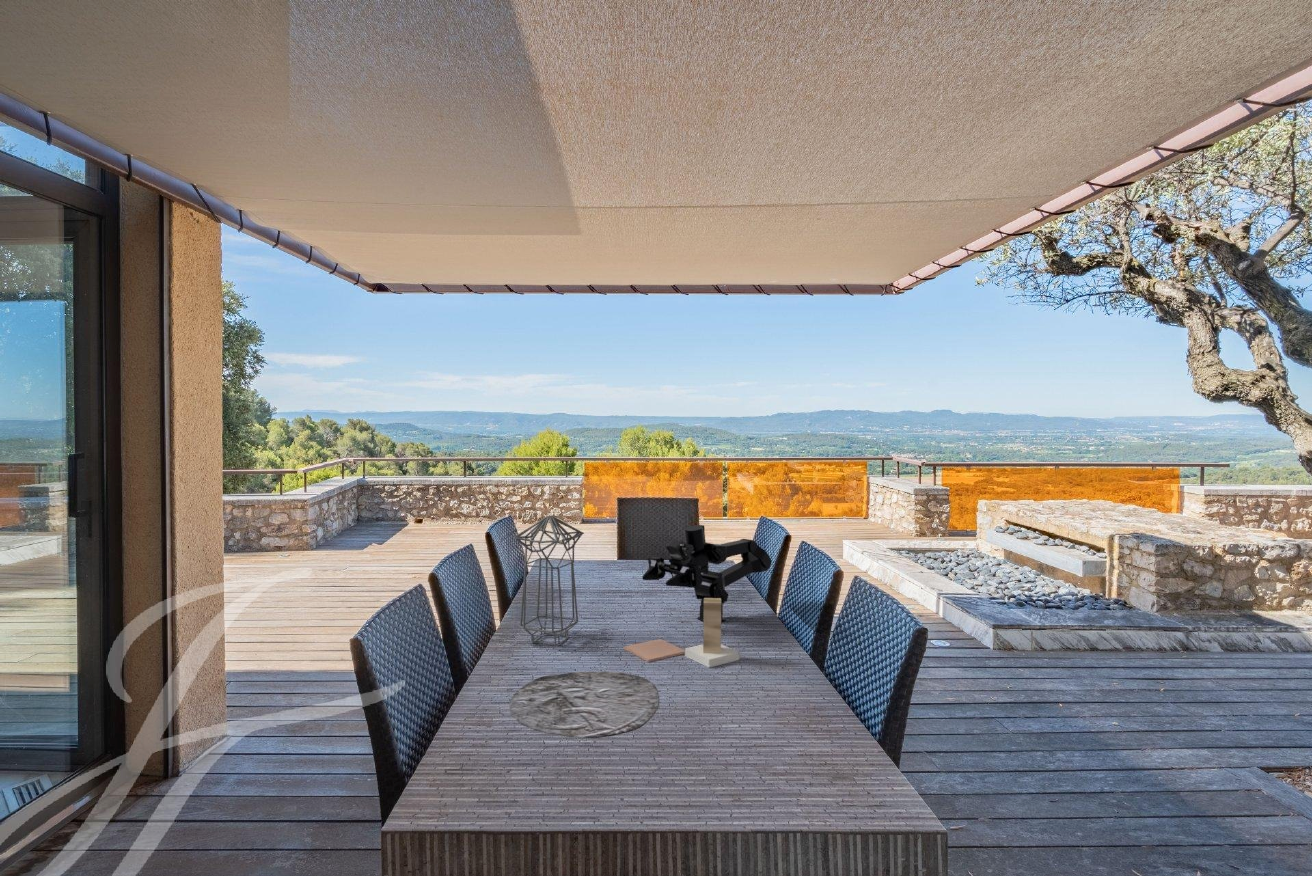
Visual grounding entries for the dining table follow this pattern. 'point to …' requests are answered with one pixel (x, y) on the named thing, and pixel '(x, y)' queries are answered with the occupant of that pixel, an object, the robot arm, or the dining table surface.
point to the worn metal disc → (585, 704)
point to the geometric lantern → (540, 527)
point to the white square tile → (712, 655)
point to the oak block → (712, 625)
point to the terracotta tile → (654, 650)
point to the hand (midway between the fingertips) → (654, 580)
